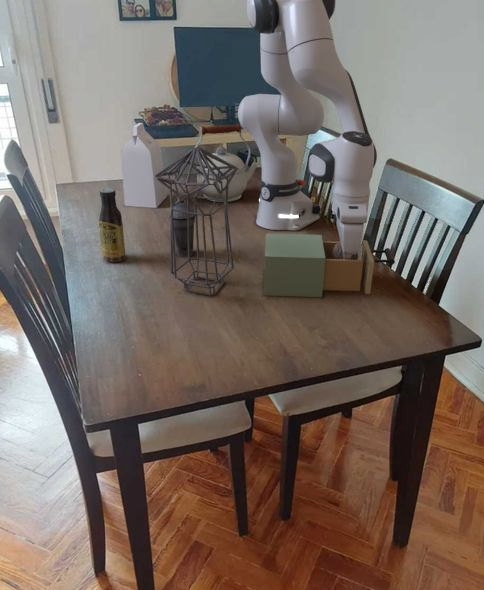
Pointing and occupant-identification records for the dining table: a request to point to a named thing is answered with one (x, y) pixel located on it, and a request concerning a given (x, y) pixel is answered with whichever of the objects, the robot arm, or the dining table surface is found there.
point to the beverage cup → (183, 228)
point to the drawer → (351, 269)
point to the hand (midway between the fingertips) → (344, 256)
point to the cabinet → (294, 265)
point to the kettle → (239, 178)
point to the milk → (142, 170)
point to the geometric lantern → (177, 166)
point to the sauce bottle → (111, 227)
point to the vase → (340, 252)
